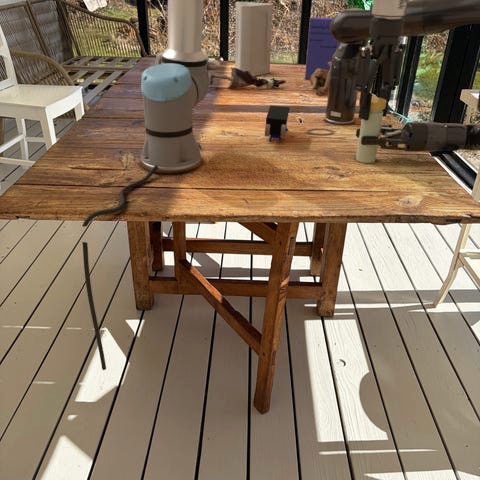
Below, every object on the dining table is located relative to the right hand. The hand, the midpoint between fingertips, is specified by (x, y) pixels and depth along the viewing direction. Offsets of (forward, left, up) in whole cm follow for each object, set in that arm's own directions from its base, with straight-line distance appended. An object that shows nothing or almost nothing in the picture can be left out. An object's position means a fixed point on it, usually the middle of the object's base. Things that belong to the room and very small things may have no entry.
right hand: (359, 136), depth 124 cm
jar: (0, +3, -6) cm, 7 cm away
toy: (-116, -52, -6) cm, 127 cm away
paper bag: (-107, -22, -6) cm, 109 cm away
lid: (0, +3, +9) cm, 10 cm away
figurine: (-77, -26, -6) cm, 82 cm away
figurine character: (-18, -20, -6) cm, 27 cm away
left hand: (0, +3, +5) cm, 6 cm away
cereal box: (-95, +9, -6) cm, 96 cm away
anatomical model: (-72, +3, -6) cm, 72 cm away
